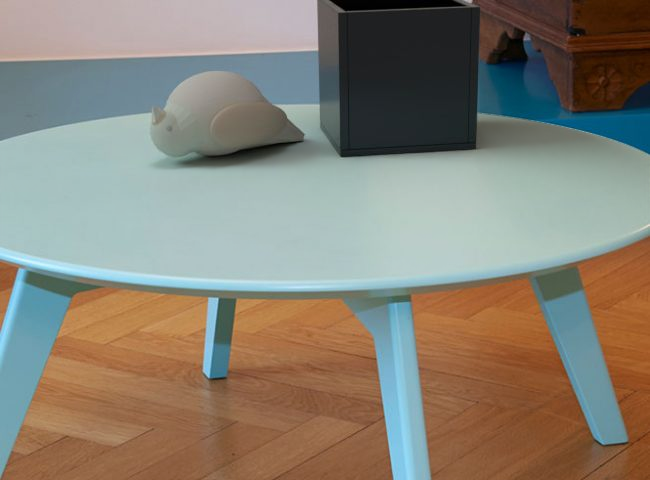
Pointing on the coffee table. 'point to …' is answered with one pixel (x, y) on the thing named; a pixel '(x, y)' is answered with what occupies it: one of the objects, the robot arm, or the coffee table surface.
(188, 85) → the decorative bird
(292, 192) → the coffee table surface
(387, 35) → the dark grey square box
